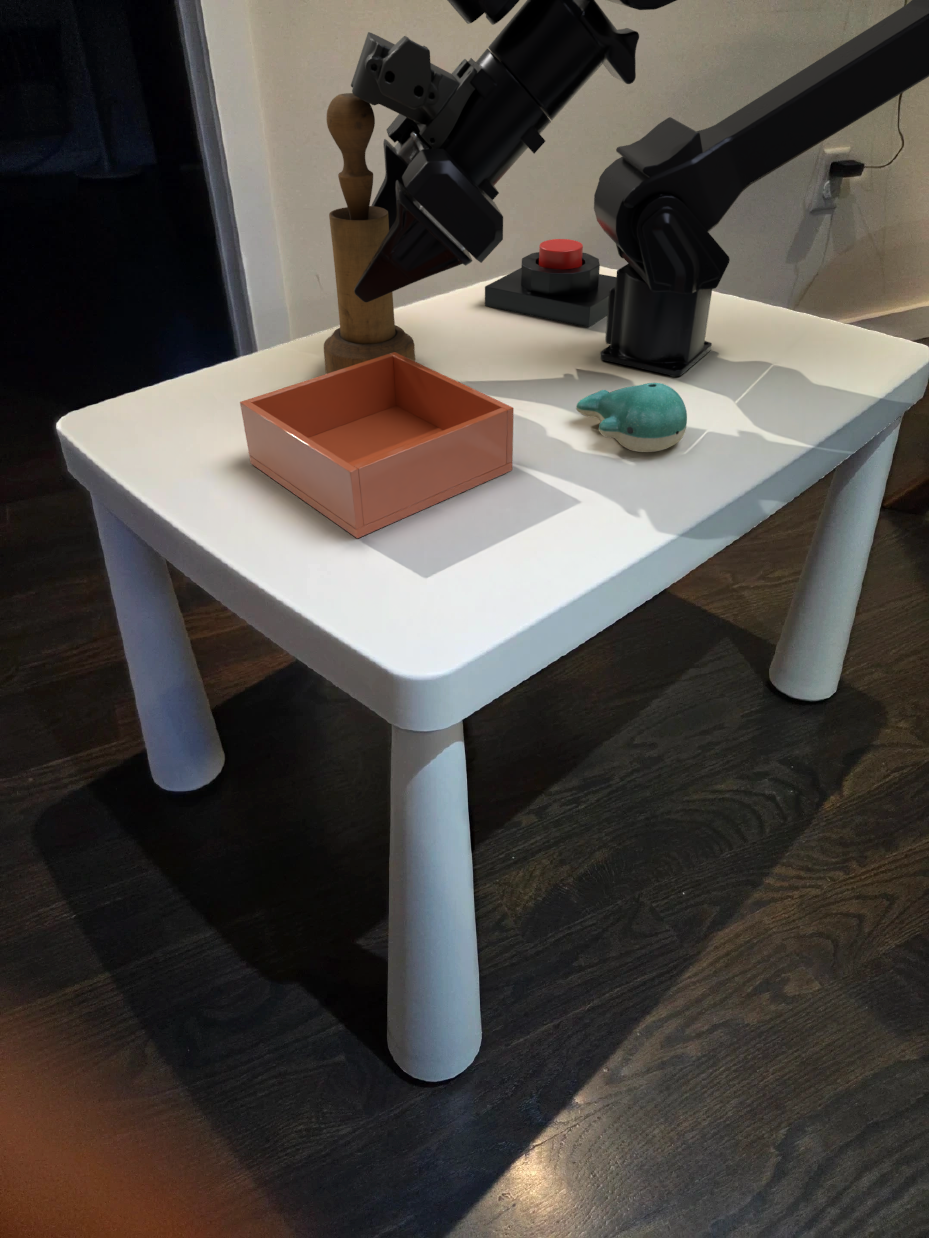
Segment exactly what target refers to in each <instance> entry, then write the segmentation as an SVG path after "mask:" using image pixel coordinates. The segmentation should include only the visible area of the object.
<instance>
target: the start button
mask: <svg viewBox="0 0 929 1238" xmlns="http://www.w3.org/2000/svg"><path fill="white" fill-rule="evenodd" d="M583 250H584V245H583V243H582V242H580V241H577V240H574V239H570V238H569V239H568V238H554V239H548V240H544V241H542V242H540V244H539V249H538V252H539V266H541V267H545V268H551V269H572V268H577V267H580V266H582V253H584V251H583Z"/></svg>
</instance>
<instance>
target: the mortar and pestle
mask: <svg viewBox="0 0 929 1238" xmlns="http://www.w3.org/2000/svg"><path fill="white" fill-rule="evenodd" d="M326 126H327V129H328V131H329V133H330V135H331V138H332V140H333V141H334V143H335V145H337V147H338V149H339V151H340V152H341V155H342V161H343V165H342V170H341V171H340V172H339V173H338V174H337V176H338V181H339V185H340V189H341V192H342V195H343V198H344V201H345V204H346V206H345V207H341V208H336V209H334V210H332V211H330V212H329V214H328V217H329V227H330V237H331V244H332V255H333V267H334V275H335V286H336V297H337V307H338V319H339V328H336V329H335V330H334V331H333V332H332V334H331V335H330V336H329V337H328V338H327V339H325V341H324V343H323V359H324V368H325V374H328V373H331V372H334V371H337V370H340V369H343V368H347V367H350V366H353V365H356V364H359V363H362V362H365V361H368V360H371V359H374V358H378V357H381V356H384V355H387V354H390V353H393V352H396V353H398V354H400V355H402V356H404V357H406V358H409V359H411V360H413V361H415V362H416V351H415V349H416V348H415V341H414V338H413V337H412V336H411V335H409V334H408V333H406V332H405V330H404V329H403V328H402V327H400V326H398V325H396V321H395V309H394V295H393V294H394V293H393V292H391V293H388V294H386V295H384V296H381V297H379V298H377V299H374V300H372V301H370V302H363V301H362V300H361V299H360V298H359V297H358V296H357V295H355V293H354V289H355V287H356V285H357V283H358V281H359V280H360V278H361V276H362V274H363V273H364V271H365V269H366V268H367V266H368V264H369V263H370V261H371V260H372V258H373V256H374V255H375V253H376V251H377V250H378V248H379V247H380V245H381V243H382V242H383V240H384V238H385V237H386V235H387V234H388V232H389V220H388V211H387V210H385V209H384V208H381V207H375V206H371V205H370V204H371V199H372V194H373V188H374V187H373V186H374V173H373V171H371V170H370V169H369V167H368V164H367V160H366V151H367V148H368V146H369V144H370V141H371V138H372V136H373V133H374V130H375V126H376V119H375V113H374V109H373V106H372V104H370V103H368V102H366V101H364V100H362V99H360V98H358V97H357V96H355V95H354V94H353V93H352V92H345V93H339V94H338V95H336V96H334V97H333V98H332V100H330V102H329V104H328V107H327V110H326Z"/></svg>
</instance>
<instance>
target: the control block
mask: <svg viewBox="0 0 929 1238" xmlns="http://www.w3.org/2000/svg"><path fill="white" fill-rule="evenodd" d="M520 265H521V267H519V268H517V269H516V270H514V271H512V272H510V273H508V274H506V275H504V276H502V277H501V278H499V279H496V280H494V281H493V282H491V283H489V284H487V285H485V286H484V307H487V308H492V309H497V310H503V311H507V312H510V313H516V314H521V315H526V316H530V317H535V318H539V319H544V320H549V321H554V322H559V323H565V324H568V325H572V326H576V327H577V326H578V327H583V328H587V329H589V328H591V327H592V326H594V325H596V324H597V323H598V322H600V321H601V320H603V319H604V318H607V312H608V300H609V291H610V290H611V289H612V288H613V287H615V286H616V276H613V275H607V274H603V273H600V271H601V269H600V268H601V267H600V266H601V263H600V259H599V258H598V257H595V256H594V255H591V254H589V253H587V252H583V253H582V266H580V267H577V268H572V269H551V268H545V267H541V266H539V251H537V252H531V253H529V254H528V255H525V256H523V257H522V258H521V264H520Z"/></svg>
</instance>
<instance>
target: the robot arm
mask: <svg viewBox="0 0 929 1238" xmlns="http://www.w3.org/2000/svg"><path fill="white" fill-rule="evenodd" d="M446 1H447V2H448V3H449V4H450V6H452V8H453V9H454V10H455V11H456V13H457V14H458V15H459V16H460V17H461V19H462V20H464V22H465V23H466V25H471V24H473V23H474V22H476V21H477V20H478V19H480V17H482V16H483V15H485V18H486V20H487V21H488V22H489V23H490V24H491V25H493V26H494V25H496V24H498V23H499V22H500V21H501V20H503V19H504V18H505V17H506V16H507V15H508V14H509V13H510V12H511V11H512V10H513V9H514V8H515V6H517V4H518V3H519V2H520V0H446ZM606 1H607V2H609V3H613V4H618V5H620V6H624V7H628V8H631V9H634V10H638V11H653V10H657V9H660V8H664V7H665V6H667V5H670V4H673V3H675V2H677V1H678V0H606ZM639 40H640V33H639V32H638V31H637V30H634V29H632V28H629V27H626V28H620V29H618V28H616V26H615V25H614V24H613V22H612V21H611V20H610V19H609V17H608V16H607V15H606V13H605V12H604V11H603V9H602V8H601V7H600V5H599V4H598V2H597V1H596V0H526V1H525V2H524V3H523V5H522V6H521V7H520V8H519V9H518V11H516V13H515V14H514V15H513V16H512V18H511V19H510V20H509V21H508V23H506V25H505V26H504V28H502V30H501V31H500V32H499V34H497V36H496V37H495V38H494V39H493V40H492V42H491V43H490V44H489V45H488V46H487V47H488V48H486V49H485V50H484V51H483V52H482V54H481V55H480V56H479V58H478V59H477V60H476V61H475V60H474V58H472V57H471V58H469V59H468V60H467V59H466V58H464V59H463V60H462V61H461V62H459V64H458V65H457V66H456V68H454V70H453V71H452V72H449V71H447V70H445V69H443V68H442V67H440V66H437V65H435V64H434V63H432V62H431V51H430V49H429V47H427V46H425V45H422V44H419V43H417V42H415V41H414V40H413V39H411V38H409V37H408V36H407V35H404V36H402V37H401V38H400V39H399V41H397V42H396V43H393V42H391V41H390V40H387V39H385V38H384V37H381V36H379V35H378V34H375V33H373V32H369V31H368V32H367V34H366V38H365V40H364V44H363V47H362V48H361V49H362V50H361V52H360V55H359V58H358V62H357V64H356V67H355V70H354V74H353V77H352V80H351V83H350V87H351V93H353V94H354V95H355V96H357V97H358V98H360V99H362V100H364V101H366V102H368V103H370V105H371V106H377V105H381V106H382V107H385V108H386V109H389V110H390V111H393V112H395V113H396V114H398V115H397V116H396V117H395V118H394V120H393V121H392V122H391V123H390V124H389V125H388V127H387V128H386V133H387V136H388V138H389V139H390V140H391V141H392V142H393V143H394V144H395V143H396V144H395V145H394V146H393V145H392V143H391V142H389V141H388V140H387V139H386V138H384V139H383V144H382V145H383V154H384V155H383V156H384V169H385V175H384V178H383V181H382V183H381V185H380V188H379V189H378V191H377V193H376V194H375V197H374V200H373V201H372V203H371V205H370V206H375V207H381V208H384V209H385V210H387V211H388V220H389V232H388V234H387V235H386V237H385V238H384V240H383V242H382V243H381V245H380V247H379V248H378V250H377V251H376V253H375V255H374V256H373V258H372V260H371V261H370V263H369V264H368V266H367V268H366V269H365V271H364V273H363V274H362V276H361V278H360V280H359V281H358V283H357V285H356V287H355V289H354V293H355V295H357V296H358V297H359V298H360V299H361V300H362V301H363V302H370V301H372V300H374V299H377V298H379V297H381V296H384V295H386V294H388V293H391V292H392V293H393V292H396V291H398V290H400V289H402V288H404V287H407V286H409V285H412V284H414V283H417V282H419V281H422V280H424V279H426V278H430V277H432V276H434V275H437V274H439V273H443V272H445V271H448V270H450V269H454V268H455V267H459V266H461V265H463V266H468V265H469V264H471V263H473V259H472V257H473V258H474V259H475V260H476V261H477V262H479V263H481V264H482V263H483V262H484V261H485V260H486V259H487V258H488V256H489V255H490V254H491V253H492V252H493V251H494V250H495V249H496V248H497V247H498V246H499V245H500V244H501V243H502V241H504V215H503V213H502V212H501V211H500V209H499V207H498V206H497V204H496V203H495V201H494V200H495V199H496V197H497V196H498V195H499V194H500V192H499V190H498V188H497V187H496V185H497V183H498V182H499V181H500V180H501V179H502V178H503V177H504V176H505V175H506V173H508V171H509V170H510V169H511V168H512V167H513V165H514V164H515V163H516V162H517V161H518V160H519V158H521V156H522V155H524V153H525V152H526V151H527V149H529V150H530V151H531V152H532V153H533V155H535V154H536V153H537V152H538V151H539V149H541V147H542V146H543V145H544V144H545V143H546V140H545V139H544V137H543V136H542V135H541V134H542V133H543V132H544V130H546V128H547V127H548V126H550V124H551V123H552V121H553V120H554V119H555V118H556V117H557V116H558V115H559V114H560V112H561V111H562V110H563V109H564V108H565V107H566V106H567V105H568V104H569V102H571V100H572V99H573V98H574V97H575V96H576V95H577V93H578V92H579V91H580V90H581V89H582V88H583V86H585V85H586V83H587V82H588V81H589V80H590V79H591V77H592V76H593V75H594V74H596V72H597V71H598V70H599V68H601V66H602V65H603V67H604V68H605V69H606V70H607V71H608V73H609V74H610V75H611V76H612V77H613V78H615V79H617V80H619V81H620V82H622V83H624V84H626V85H632V84H633V83H634V82H635V80H636V76H637V73H636V70H637V69H636V53H637V47H638V42H639ZM928 78H929V0H910V1H909V2H908V3H906V4H905V5H904V6H902V7H900V8H898V9H897V10H896V11H894V12H893V13H891V14H889V15H888V16H886V17H885V18H883V19H882V20H879V21H878V22H876V23H875V24H873V25H872V26H870V27H868V28H867V29H865V30H864V31H862V32H860V33H859V34H857V35H855V36H854V37H853V38H851V39H849V40H848V41H847V42H845V43H843V44H842V45H840V46H838V47H837V48H835V49H834V50H832V51H830V52H828V53H827V54H826V55H824V56H823V57H821V58H819V59H818V60H816V61H814V62H813V63H811V64H809V65H808V66H807V67H804V68H803V69H801V70H800V71H798V72H797V73H796V74H794V75H792V76H790V77H789V78H787V79H786V80H784V81H782V82H781V83H780V84H778V85H776V86H775V87H772V89H769V90H768V91H767V92H764V93H763V94H762V95H760V96H758V97H756V98H755V99H754V100H752V101H751V102H749V103H747V104H746V105H744V106H743V107H741V108H740V109H738V110H737V111H735V112H733V113H731V114H729V115H728V116H727V117H725V118H724V119H722V120H720V121H719V122H718V123H716V124H714V125H712V126H709V127H707V128H704V129H699V130H695V129H693V128H691V127H689V126H687V125H686V124H684V123H682V122H680V121H679V120H676V119H674V118H673V117H671V116H670V117H667V118H666V119H664V120H663V121H661V122H660V123H659V122H658V124H657V125H655V126H654V127H653V128H652V129H651V130H650V131H649V132H647V134H646V135H644V136H643V137H642V138H639V139H638V140H636V141H634V142H632V143H630V144H625V145H621V146H620V145H619V146H618V147H616V149H615V151H616V153H617V154H618V155H620V157H619V158H617V159H615V160H614V161H613V162H612V163H610V164H609V165H608V166H607V167H606V168H605V169H604V170H603V172H601V174H600V175H599V177H598V183H597V186H596V188H595V191H594V195H593V211H594V214H595V219H596V221H597V224H599V226H600V228H601V229H602V230H603V232H604V233H605V234H606V235H607V236H608V237H609V239H611V240H612V242H613V243H614V244H615V246H616V250H617V253H618V254H617V255H618V256H619V257H620V258H621V259H623V260H624V261H626V263H627V264H625V265H623V266H622V267H620V268H618V269H617V270H616V275H615V277H616V286H615V287H613V288H612V289H611V290H610V291H609V300H608V312H607V316H606V323H605V324H606V325H605V337H604V338H605V339H604V341H605V343H606V345H608V346H607V347H605V348H604V349H602V350H601V351H600V354H599V355H600V356H599V359H600V360H602V361H605V362H610V363H614V364H618V365H623V366H627V367H632V368H635V369H636V368H637V369H641V370H645V371H650V372H655V373H659V374H663V375H666V376H673V377H680V376H682V375H684V374H685V373H686V372H687V371H688V370H689V369H691V368H692V367H693V366H694V365H695V364H696V363H697V362H698V361H700V360H701V359H702V358H704V356H706V355H707V354H708V353H709V352H710V351H712V347H713V344H712V342H710V341H707V340H706V333H707V327H708V322H709V321H708V320H709V313H710V308H711V302H712V301H711V300H712V294H713V290H715V289H717V288H718V286H719V284H720V283H721V280H722V278H723V277H724V274H725V272H726V270H727V268H728V266H729V264H730V262H731V261H730V255H728V254H727V252H726V251H725V250H724V249H723V248H722V246H721V245H720V244H719V243H718V242H717V241H716V239H715V238H714V237H713V236H712V235H711V233H710V232H711V231H712V230H713V229H715V228H716V227H717V226H718V225H719V223H720V222H721V221H722V219H723V218H724V217H725V215H726V214H727V212H729V210H730V209H731V207H732V206H733V205H734V204H735V202H736V201H737V199H738V198H739V197H740V196H741V194H742V193H743V192H744V191H745V190H747V189H748V188H749V187H750V186H751V185H753V184H755V183H756V182H758V181H760V180H761V179H763V178H765V177H766V176H769V175H770V174H771V173H773V172H774V171H776V170H778V169H779V168H781V167H782V166H784V165H786V164H788V163H789V162H791V161H792V160H794V159H796V158H797V157H799V156H801V155H803V154H804V153H806V152H807V151H809V150H811V149H812V148H814V147H816V146H817V145H819V144H820V143H822V142H824V141H826V140H827V139H829V138H831V137H832V136H834V135H836V134H837V133H838V132H840V131H842V130H843V129H845V128H847V127H848V126H850V125H852V124H853V123H855V122H857V121H858V120H860V119H862V118H863V117H865V116H867V115H868V114H870V113H871V112H873V111H876V110H877V109H878V108H880V107H881V106H883V105H886V104H887V103H888V102H890V101H892V100H893V99H896V97H898V96H899V95H902V94H903V93H904V92H907V91H908V90H909V89H911V88H913V87H914V86H917V84H920V83H921V82H922V81H924V80H926V79H928ZM471 256H472V257H471Z"/></svg>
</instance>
